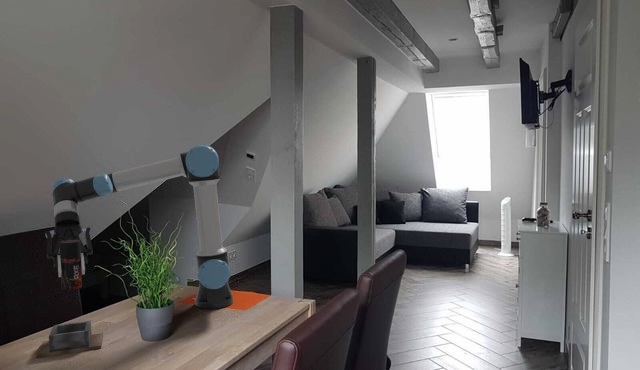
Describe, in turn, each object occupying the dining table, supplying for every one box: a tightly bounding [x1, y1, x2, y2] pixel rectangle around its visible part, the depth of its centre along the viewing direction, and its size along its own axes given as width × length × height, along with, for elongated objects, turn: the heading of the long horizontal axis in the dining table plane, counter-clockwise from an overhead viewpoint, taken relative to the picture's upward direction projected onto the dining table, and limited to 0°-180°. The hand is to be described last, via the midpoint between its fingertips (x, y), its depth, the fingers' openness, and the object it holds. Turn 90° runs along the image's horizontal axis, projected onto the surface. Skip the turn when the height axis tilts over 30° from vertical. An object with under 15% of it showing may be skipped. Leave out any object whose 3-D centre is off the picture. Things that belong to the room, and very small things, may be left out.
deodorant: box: [59, 239, 83, 291], centre depth 157 cm, size 6×6×15 cm
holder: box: [35, 320, 104, 359], centre depth 156 cm, size 18×12×6 cm, turn 111°
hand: (71, 273), depth 154 cm, fingers closed on deodorant, 6 cm apart
